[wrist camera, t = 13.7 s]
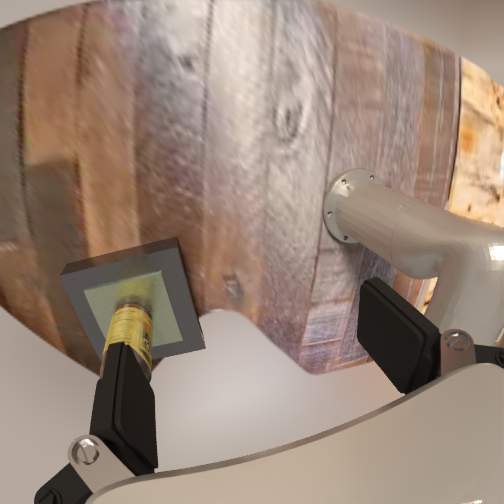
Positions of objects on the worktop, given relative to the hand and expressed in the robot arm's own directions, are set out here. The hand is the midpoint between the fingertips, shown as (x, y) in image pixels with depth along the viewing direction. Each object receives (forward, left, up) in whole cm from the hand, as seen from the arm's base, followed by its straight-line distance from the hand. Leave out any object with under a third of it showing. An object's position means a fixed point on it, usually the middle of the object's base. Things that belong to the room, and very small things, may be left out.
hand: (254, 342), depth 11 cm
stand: (+13, +16, -33) cm, 39 cm away
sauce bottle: (+13, +16, -29) cm, 36 cm away
